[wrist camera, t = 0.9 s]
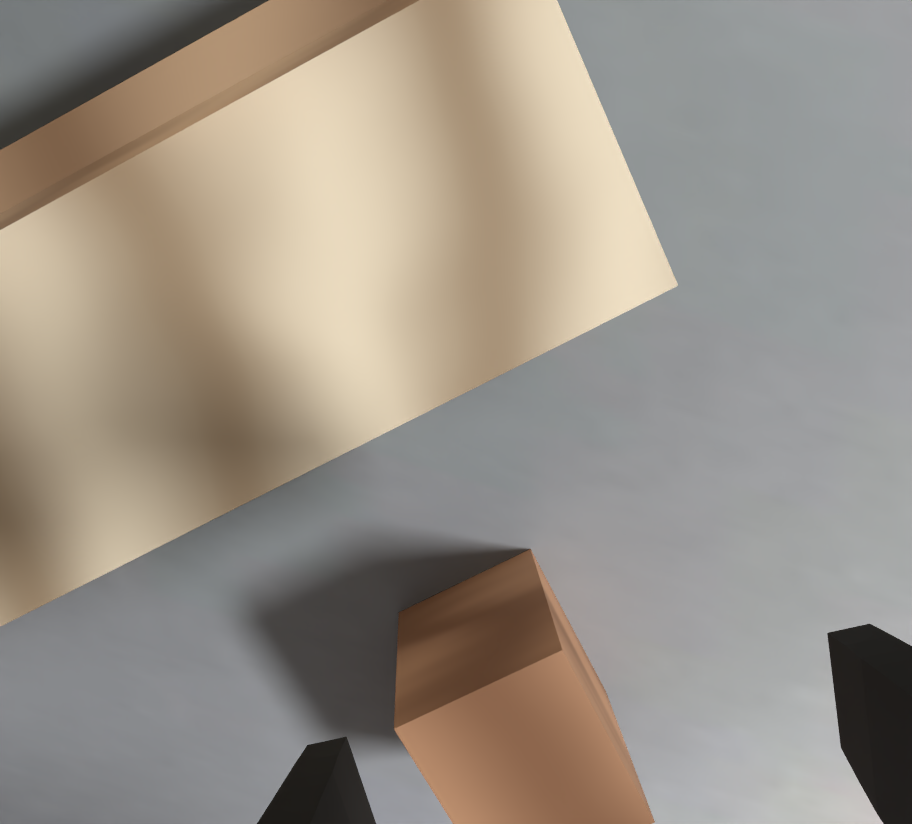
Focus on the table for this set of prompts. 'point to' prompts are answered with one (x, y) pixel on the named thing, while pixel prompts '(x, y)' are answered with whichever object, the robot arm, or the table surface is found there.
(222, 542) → the table surface
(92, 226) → the board
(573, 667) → the brown wooden block
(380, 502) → the table surface
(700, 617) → the table surface
